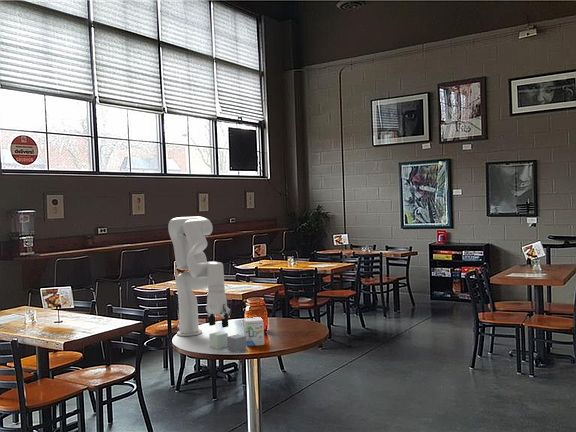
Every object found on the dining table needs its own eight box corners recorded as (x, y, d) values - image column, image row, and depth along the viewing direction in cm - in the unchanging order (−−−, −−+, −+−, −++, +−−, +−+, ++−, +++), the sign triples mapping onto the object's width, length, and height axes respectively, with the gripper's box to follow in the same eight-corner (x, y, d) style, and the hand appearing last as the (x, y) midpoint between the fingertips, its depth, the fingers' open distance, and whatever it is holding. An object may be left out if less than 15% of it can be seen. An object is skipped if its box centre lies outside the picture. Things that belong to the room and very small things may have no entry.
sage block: (209, 346, 266) (209, 333, 266) (220, 344, 270) (219, 331, 270) (217, 348, 262) (217, 335, 262) (228, 345, 266) (227, 333, 266)
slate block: (227, 350, 258) (227, 336, 258) (238, 347, 262) (237, 334, 262) (236, 352, 254) (235, 338, 254) (246, 349, 258) (245, 336, 258)
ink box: (246, 346, 263) (245, 321, 263) (244, 342, 271) (243, 317, 271) (264, 344, 265) (263, 319, 264) (262, 340, 273) (260, 316, 273)
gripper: (198, 289, 269) (201, 325, 269) (221, 291, 257) (223, 329, 257) (211, 287, 274) (214, 323, 274) (234, 288, 262) (236, 326, 262)
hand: (218, 326), depth 265 cm, fingers open, 9 cm apart
